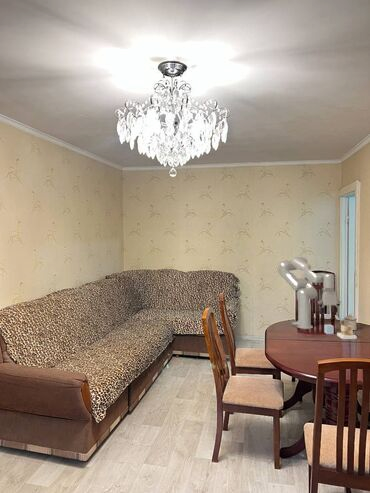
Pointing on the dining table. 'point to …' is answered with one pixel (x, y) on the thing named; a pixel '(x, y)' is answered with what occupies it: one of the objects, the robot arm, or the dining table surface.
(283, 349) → the dining table surface
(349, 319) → the teacup with lid
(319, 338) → the dining table surface
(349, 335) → the plinth
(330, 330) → the blue block
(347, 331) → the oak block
